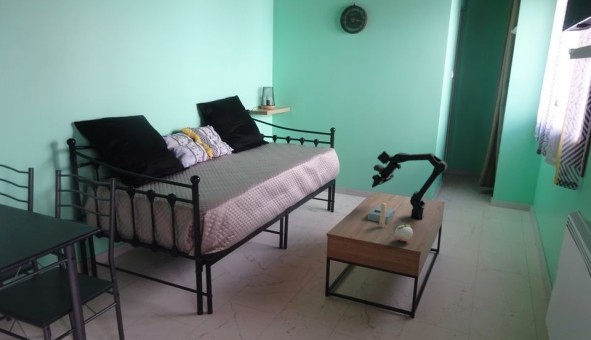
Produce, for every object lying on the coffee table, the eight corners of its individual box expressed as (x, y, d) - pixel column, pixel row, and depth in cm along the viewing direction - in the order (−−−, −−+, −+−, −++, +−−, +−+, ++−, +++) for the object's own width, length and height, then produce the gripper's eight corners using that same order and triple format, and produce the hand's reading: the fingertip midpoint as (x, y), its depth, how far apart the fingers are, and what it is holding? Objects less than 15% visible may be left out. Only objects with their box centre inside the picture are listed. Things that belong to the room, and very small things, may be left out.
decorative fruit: (403, 246, 206) (405, 228, 204) (391, 240, 213) (393, 223, 210) (415, 242, 212) (417, 224, 210) (403, 237, 218) (405, 219, 216)
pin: (385, 226, 232) (387, 203, 229) (383, 228, 230) (385, 204, 226) (380, 225, 234) (382, 202, 230) (378, 227, 231) (380, 203, 228)
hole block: (394, 215, 251) (395, 209, 250) (387, 223, 237) (387, 217, 236) (375, 211, 256) (376, 205, 255) (367, 219, 243) (368, 213, 242)
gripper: (387, 157, 263) (374, 174, 272) (373, 162, 249) (359, 179, 258) (400, 169, 259) (386, 186, 268) (385, 175, 245) (371, 192, 254)
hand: (375, 185), depth 262 cm, fingers open, 9 cm apart
